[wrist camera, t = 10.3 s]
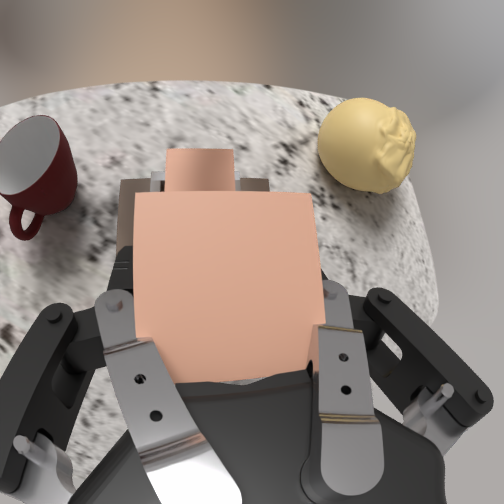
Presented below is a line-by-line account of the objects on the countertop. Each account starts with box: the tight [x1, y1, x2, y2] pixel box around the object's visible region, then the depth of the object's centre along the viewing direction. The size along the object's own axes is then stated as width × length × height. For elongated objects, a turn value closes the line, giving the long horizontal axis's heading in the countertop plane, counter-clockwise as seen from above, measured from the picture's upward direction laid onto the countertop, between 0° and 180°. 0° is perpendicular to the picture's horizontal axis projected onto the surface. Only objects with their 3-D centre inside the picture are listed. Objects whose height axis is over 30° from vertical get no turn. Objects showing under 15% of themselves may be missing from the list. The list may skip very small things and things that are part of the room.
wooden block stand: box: [116, 149, 270, 256], centre depth 24 cm, size 16×18×10 cm
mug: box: [0, 115, 77, 241], centre depth 22 cm, size 11×8×10 cm
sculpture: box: [318, 98, 416, 194], centre depth 31 cm, size 12×12×11 cm
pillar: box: [133, 191, 326, 385], centre depth 12 cm, size 5×5×9 cm
